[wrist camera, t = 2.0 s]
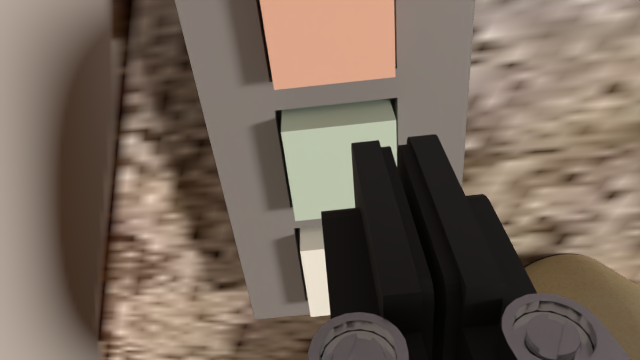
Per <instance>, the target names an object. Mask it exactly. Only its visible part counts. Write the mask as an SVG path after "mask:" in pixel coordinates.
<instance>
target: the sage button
mask: <svg viewBox="0 0 640 360" xmlns="http://www.w3.org/2000/svg"><path fill="white" fill-rule="evenodd" d="M281 135H282V142H283V148H284V154H285V160H286V166H287V173H288V179H289V185H290V191H291V197H292V204H293V210H294V216H295V221H302V220H311V219H321V211H330V210H339V209H348V208H355V198H354V183H353V168H352V153H351V143H356V142H366V141H375V140H379V142H380V145H381V147H387V146H390V147H391V150H392V153H393V156H394V159H395V162H396V166H397V136H396V118H395V115H394V112H393V109H392V106H391V103H390V100H389V99H380V100H370V101H361V102H351V103H342V104H333V105H323V106H314V107H304V108H295V109H285V110H282V120H281Z"/></svg>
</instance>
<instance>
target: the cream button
mask: <svg viewBox="0 0 640 360" xmlns="http://www.w3.org/2000/svg"><path fill="white" fill-rule="evenodd" d="M300 253H301V260H302V266H303V272H304V278H305V284H306V291H307V297H308V303H309V309H310V315H311V317H316V316H326V315H330V305H329V294H328V283H327V273H326V262H325V251H324V240H323V230H322V226H313V227H303V228H300Z"/></svg>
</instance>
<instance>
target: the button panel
mask: <svg viewBox="0 0 640 360" xmlns="http://www.w3.org/2000/svg"><path fill="white" fill-rule="evenodd" d="M175 4H176V8H177V12H178V16H179V20H180V24H181V28H182V32H183V36H184V40H185V44H186V47H187V51H188V55H189V59H190V63H191V67H192V71H193V75H194V79H195V83H196V87H197V91H198V95H199V99H200V103H201V107H202V111H203V115H204V119H205V123H206V127H207V131H208V135H209V139H210V143H211V147H212V151H213V155H214V158H215V162H216V166H217V170H218V174H219V178H220V182H221V186H222V190H223V194H224V198H225V202H226V206H227V210H228V214H229V218H230V222H231V226H232V230H233V234H234V238H235V242H236V246H237V250H238V254H239V258H240V262H241V265H242V269H243V273H244V277H245V281H246V285H247V289H248V293H249V297H250V301H251V305H252V309H253V313H254V317H255V320H257V319H267V318H277V317H288V316H298V315H308V314H310V309H309V303H308V297H307V291H306V284H305V278H304V272H303V266H302V260H301V253H300V228H303V227H313V226H322V219H311V220H302V221H295V216H294V210H293V204H292V197H291V191H290V185H289V179H288V173H287V166H286V160H285V154H284V148H283V142H282V135H281V120H282V110H285V109H295V108H304V107H314V106H323V105H333V104H342V103H351V102H361V101H370V100H380V99H389V100H390V103H391V106H392V109H393V112H394V115H395V118H396V136H397V148H398V145H405V144H407V138H408V137H412V136H422V135H431V134H436V135H437V136H438V138H439V140H440V142H441V144H442V147H443V149H444V151H445V153H446V155H447V157H448V159H449V162H450V164H451V166H452V168H453V170H454V172H455V175H456V177H457V179H458V181H459V183H460V185H461V187H462V179H463V164H464V150H465V135H466V121H467V107H468V92H469V78H470V63H471V49H472V34H473V20H474V6H475V0H394V19H395V77H392V78H382V79H373V80H364V81H354V82H345V83H336V84H326V85H317V86H308V87H298V88H289V89H279V90H274V86H273V80H272V73H271V67H270V61H269V55H268V48H267V42H266V36H265V30H264V24H263V17H262V11H261V5H260V0H175Z"/></svg>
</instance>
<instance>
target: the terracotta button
mask: <svg viewBox="0 0 640 360" xmlns="http://www.w3.org/2000/svg"><path fill="white" fill-rule="evenodd" d="M260 5H261V11H262V17H263V24H264V30H265V36H266V42H267V48H268V55H269V61H270V67H271V73H272V80H273V86H274V90H279V89H289V88H298V87H308V86H317V85H326V84H336V83H345V82H354V81H364V80H373V79H382V78H392V77H395V19H394V0H260Z"/></svg>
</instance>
